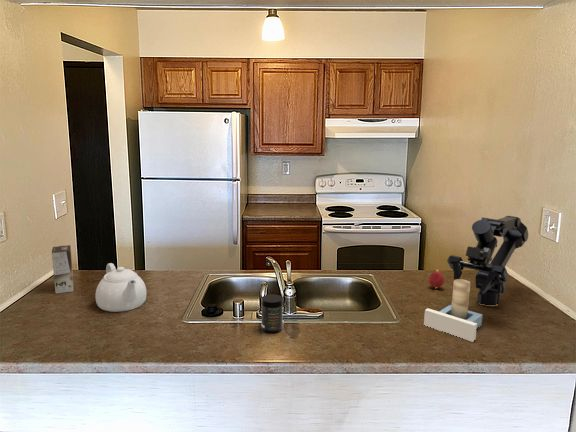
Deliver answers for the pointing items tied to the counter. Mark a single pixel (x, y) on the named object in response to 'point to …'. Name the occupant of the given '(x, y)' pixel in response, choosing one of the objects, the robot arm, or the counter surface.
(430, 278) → the onion
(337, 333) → the counter surface
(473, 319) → the socket block
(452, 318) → the white base plate
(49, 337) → the counter surface
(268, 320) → the supplement container
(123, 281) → the teapot
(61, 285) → the coffee box
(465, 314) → the dowel
